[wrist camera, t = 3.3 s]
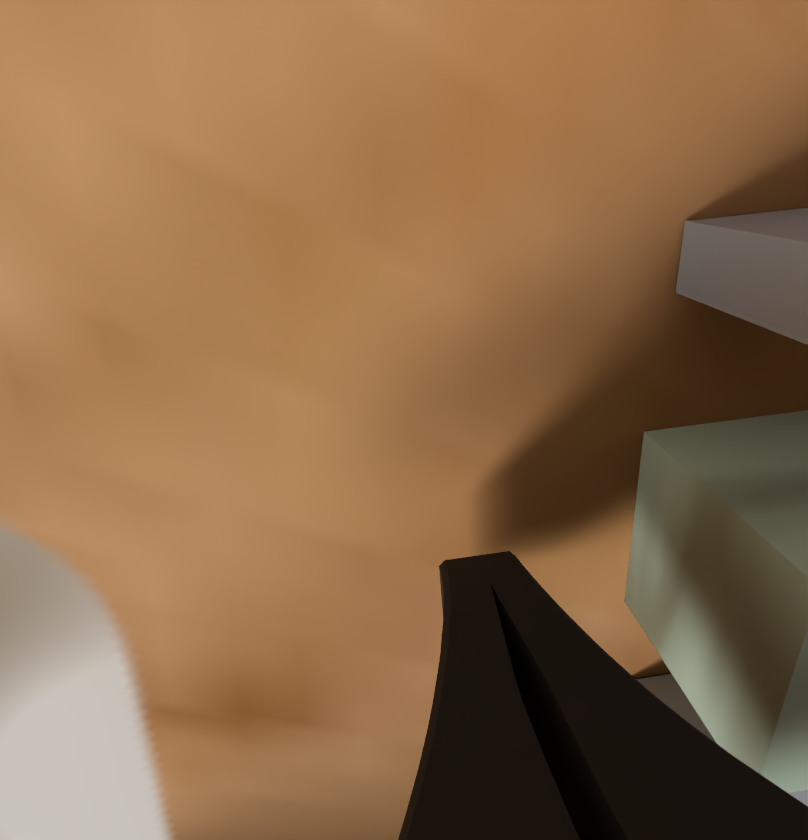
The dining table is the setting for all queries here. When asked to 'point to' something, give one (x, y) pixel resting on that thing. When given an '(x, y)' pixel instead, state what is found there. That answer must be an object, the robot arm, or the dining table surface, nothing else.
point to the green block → (730, 580)
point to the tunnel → (743, 316)
